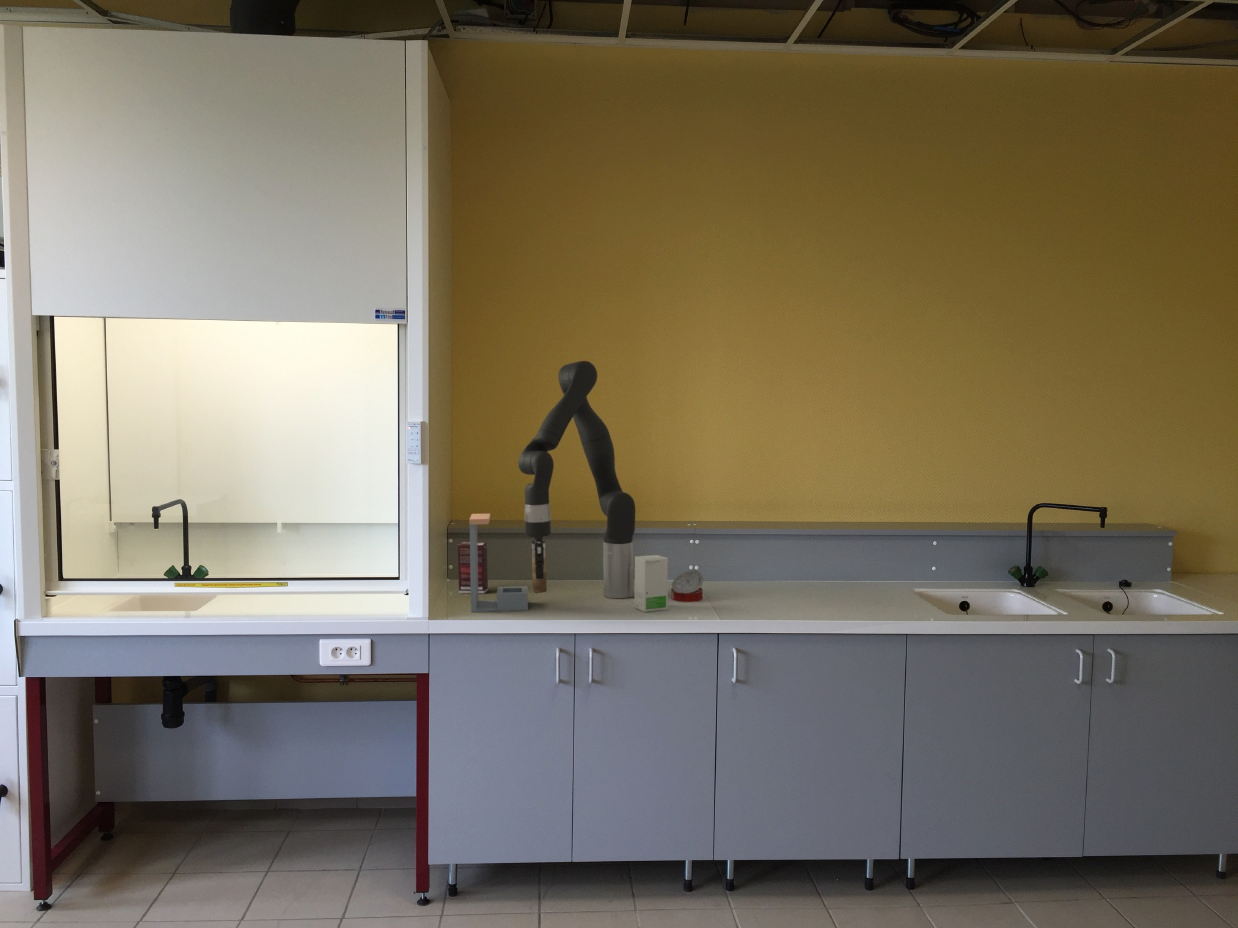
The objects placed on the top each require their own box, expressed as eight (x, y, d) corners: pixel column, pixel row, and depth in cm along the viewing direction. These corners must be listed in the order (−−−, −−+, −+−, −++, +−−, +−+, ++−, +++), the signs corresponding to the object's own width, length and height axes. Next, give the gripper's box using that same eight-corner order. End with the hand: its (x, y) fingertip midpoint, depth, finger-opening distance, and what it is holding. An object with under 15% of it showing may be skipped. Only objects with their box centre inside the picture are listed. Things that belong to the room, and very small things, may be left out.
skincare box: (644, 612, 240) (644, 560, 238) (633, 607, 246) (633, 556, 244) (668, 609, 244) (668, 557, 242) (657, 604, 250) (657, 553, 248)
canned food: (703, 613, 256) (712, 589, 252) (673, 613, 253) (683, 588, 248) (691, 590, 265) (700, 565, 261) (662, 589, 262) (671, 564, 257)
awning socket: (527, 601, 253) (526, 512, 251) (527, 610, 242) (526, 518, 240) (473, 602, 251) (471, 513, 249) (470, 612, 240) (469, 519, 238)
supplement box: (488, 590, 268) (487, 542, 266) (484, 593, 263) (483, 544, 261) (462, 589, 268) (461, 541, 267) (458, 593, 264) (457, 544, 262)
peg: (546, 589, 243) (545, 549, 242) (547, 592, 240) (545, 551, 238) (532, 589, 243) (531, 549, 242) (533, 593, 239) (531, 552, 238)
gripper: (551, 522, 233) (553, 581, 234) (549, 514, 247) (551, 571, 248) (525, 523, 232) (527, 583, 233) (524, 515, 246) (526, 572, 247)
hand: (539, 576), depth 241 cm, fingers closed on peg, 4 cm apart
